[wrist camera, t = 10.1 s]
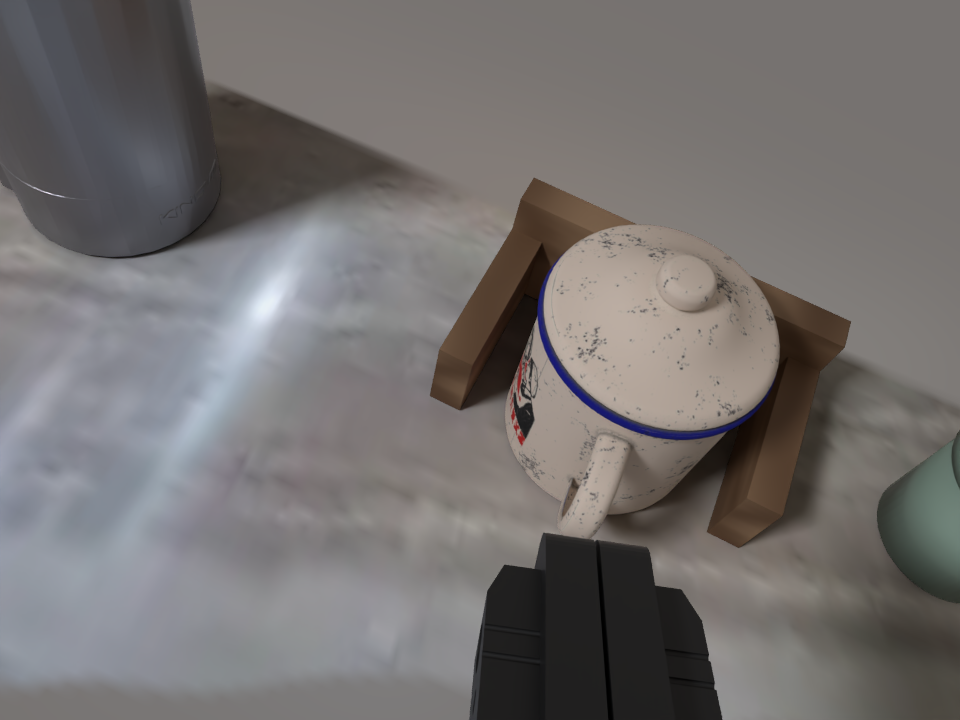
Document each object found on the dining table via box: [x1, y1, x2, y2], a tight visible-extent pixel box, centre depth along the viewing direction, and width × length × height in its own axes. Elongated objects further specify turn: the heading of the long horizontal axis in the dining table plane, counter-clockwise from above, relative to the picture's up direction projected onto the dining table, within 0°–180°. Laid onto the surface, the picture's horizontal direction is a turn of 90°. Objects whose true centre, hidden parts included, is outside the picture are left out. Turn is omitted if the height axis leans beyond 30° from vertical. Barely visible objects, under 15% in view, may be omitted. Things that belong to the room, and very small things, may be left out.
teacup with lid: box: [505, 224, 780, 539], centre depth 31 cm, size 12×9×12 cm
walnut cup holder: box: [430, 178, 851, 548], centre depth 35 cm, size 15×9×6 cm, turn 65°
